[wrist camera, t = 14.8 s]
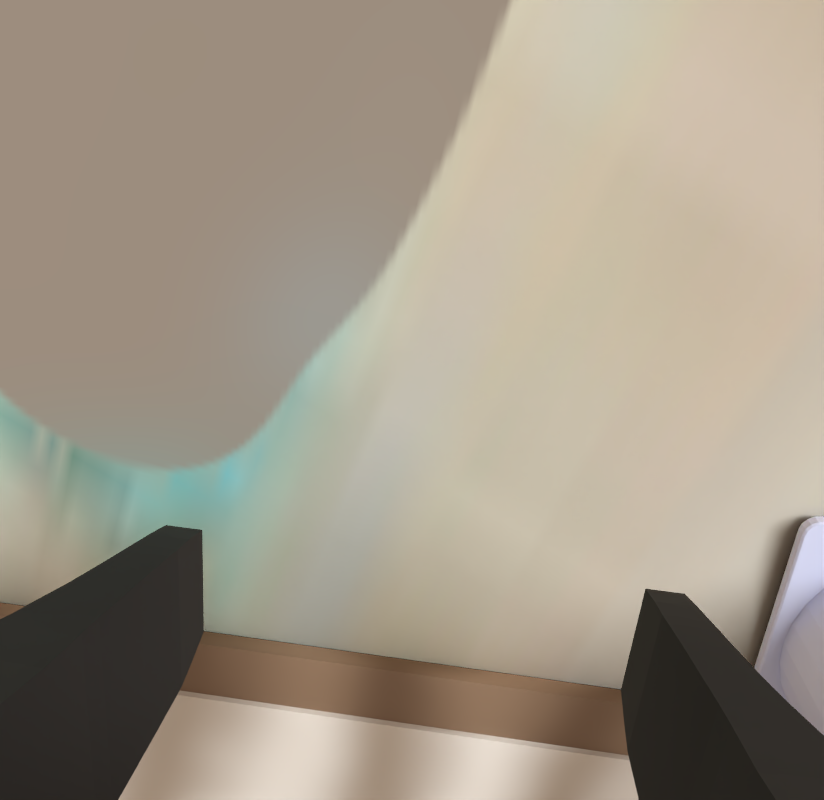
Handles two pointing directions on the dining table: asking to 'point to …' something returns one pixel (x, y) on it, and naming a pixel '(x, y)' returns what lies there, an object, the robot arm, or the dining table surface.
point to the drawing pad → (376, 731)
